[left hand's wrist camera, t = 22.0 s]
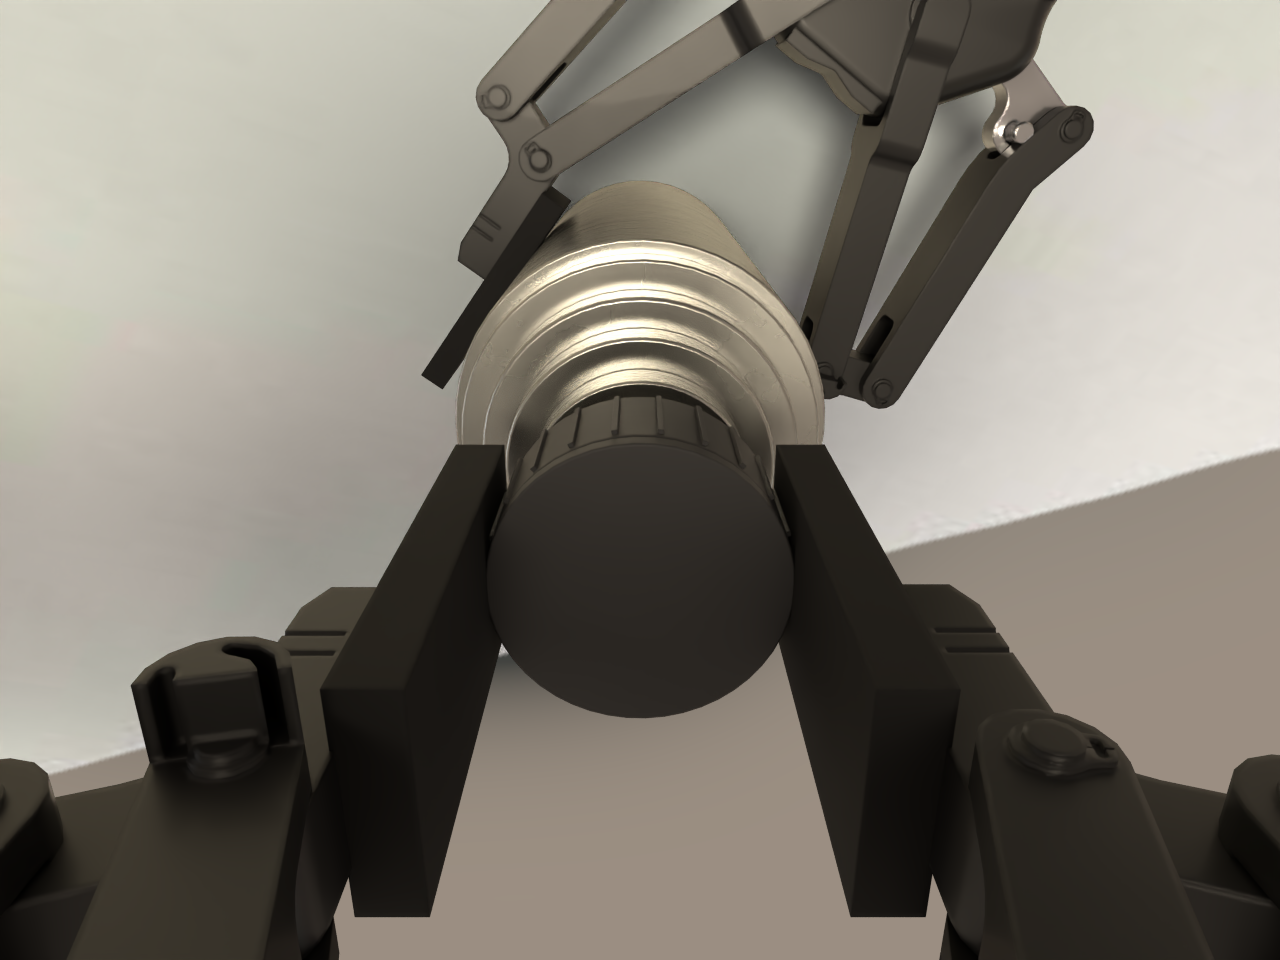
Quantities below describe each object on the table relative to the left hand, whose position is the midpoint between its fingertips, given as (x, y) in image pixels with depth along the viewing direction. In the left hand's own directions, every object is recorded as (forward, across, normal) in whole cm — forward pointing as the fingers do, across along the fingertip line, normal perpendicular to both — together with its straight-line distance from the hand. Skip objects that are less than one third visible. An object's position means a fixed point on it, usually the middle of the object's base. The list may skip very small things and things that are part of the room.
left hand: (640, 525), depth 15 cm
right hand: (+15, -3, -4) cm, 15 cm away
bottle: (+21, 0, 0) cm, 21 cm away
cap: (-2, 0, 0) cm, 2 cm away
